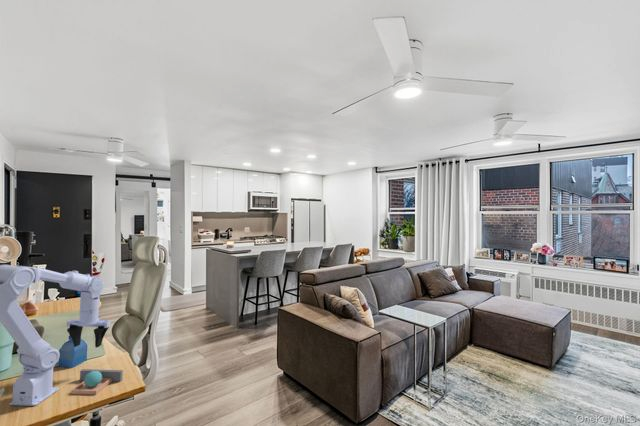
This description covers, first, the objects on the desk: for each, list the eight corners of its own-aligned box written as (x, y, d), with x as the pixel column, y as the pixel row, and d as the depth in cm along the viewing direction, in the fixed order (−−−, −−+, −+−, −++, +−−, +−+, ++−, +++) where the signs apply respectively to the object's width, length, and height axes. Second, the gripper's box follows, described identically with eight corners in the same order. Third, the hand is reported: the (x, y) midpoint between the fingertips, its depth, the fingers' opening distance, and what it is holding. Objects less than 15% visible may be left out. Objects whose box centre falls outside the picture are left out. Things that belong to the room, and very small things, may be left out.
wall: (120, 381, 112) (120, 371, 112) (79, 380, 112) (80, 370, 112) (122, 380, 113) (122, 370, 113) (82, 378, 113) (82, 369, 113)
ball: (95, 390, 105) (96, 375, 106) (79, 389, 105) (81, 374, 105) (104, 382, 110) (106, 368, 111) (89, 381, 110) (91, 367, 110)
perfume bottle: (86, 360, 126) (88, 330, 126) (73, 367, 120) (74, 336, 120) (72, 359, 127) (73, 329, 127) (58, 366, 121) (59, 334, 121)
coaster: (96, 394, 104) (96, 390, 104) (71, 393, 104) (71, 390, 104) (111, 381, 112) (111, 378, 112) (88, 381, 112) (88, 377, 112)
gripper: (116, 306, 121) (114, 342, 121) (77, 305, 121) (75, 341, 121) (104, 312, 114) (102, 350, 114) (63, 311, 114) (61, 348, 114)
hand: (87, 346), depth 117 cm, fingers open, 7 cm apart
